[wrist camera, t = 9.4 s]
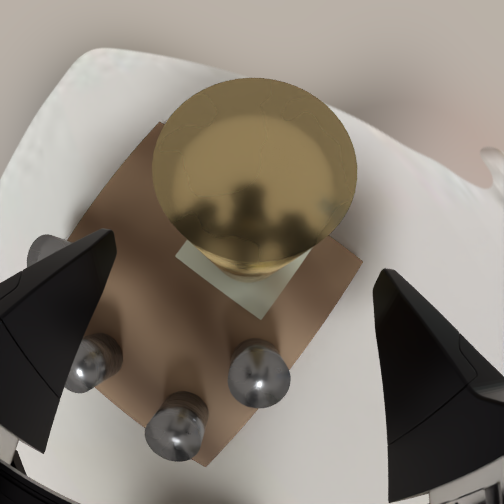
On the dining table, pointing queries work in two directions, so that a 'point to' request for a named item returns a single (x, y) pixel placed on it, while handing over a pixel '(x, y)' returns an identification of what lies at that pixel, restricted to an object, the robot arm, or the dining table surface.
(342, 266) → the walnut board
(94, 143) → the dining table surface
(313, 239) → the disc
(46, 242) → the spacer posts
